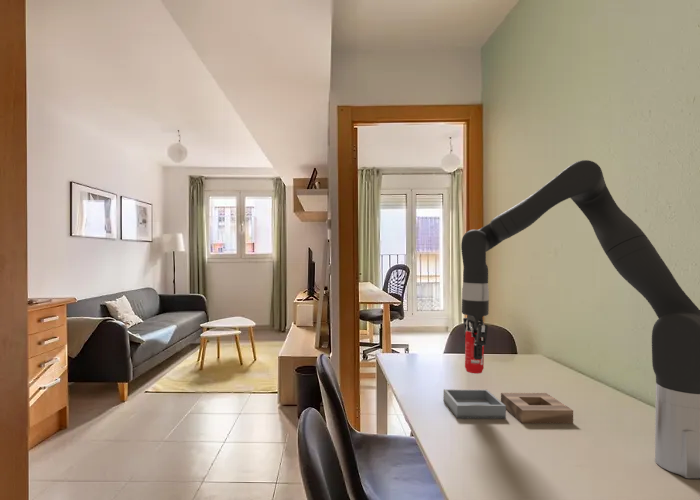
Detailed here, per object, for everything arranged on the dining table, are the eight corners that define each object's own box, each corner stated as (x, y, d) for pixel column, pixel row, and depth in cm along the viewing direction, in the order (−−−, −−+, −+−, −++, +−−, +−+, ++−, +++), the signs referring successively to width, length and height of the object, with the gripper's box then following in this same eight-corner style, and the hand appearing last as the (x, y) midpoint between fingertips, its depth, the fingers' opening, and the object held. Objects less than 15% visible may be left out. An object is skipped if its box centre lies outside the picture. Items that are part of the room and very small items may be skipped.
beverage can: (463, 372, 119) (463, 330, 119) (466, 368, 123) (467, 328, 123) (481, 375, 116) (482, 332, 116) (484, 370, 121) (485, 329, 121)
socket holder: (573, 423, 111) (573, 410, 111) (522, 423, 110) (522, 410, 110) (545, 404, 125) (546, 392, 125) (500, 404, 124) (501, 392, 124)
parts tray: (505, 418, 113) (505, 405, 113) (457, 418, 112) (457, 405, 113) (486, 400, 127) (487, 389, 127) (443, 400, 126) (443, 389, 126)
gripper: (497, 301, 113) (496, 363, 113) (479, 296, 127) (478, 350, 127) (470, 300, 113) (469, 362, 112) (455, 295, 127) (454, 350, 127)
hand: (474, 356), depth 120 cm, fingers closed on beverage can, 5 cm apart
